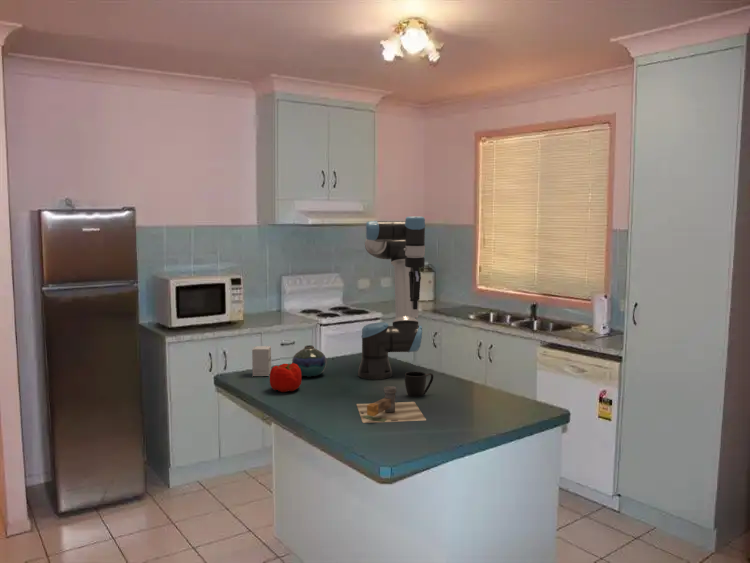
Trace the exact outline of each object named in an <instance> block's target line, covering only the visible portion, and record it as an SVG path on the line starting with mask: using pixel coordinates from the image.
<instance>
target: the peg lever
mask: <svg viewBox="0 0 750 563" xmlns="http://www.w3.org/2000/svg"><path fill="white" fill-rule="evenodd" d="M383 393H384V398H381V399H379V400H377V401H374V402H372V403H371V402H370V403H371V404H369V403H368V404H369V405H367V415H370V416H375V415H377V414H378V413H380V412H382V411H384V410H385V412H390V413H391V412H395V403H396V393H397V387H396V386H392V385H391V386H384V388H383Z"/></svg>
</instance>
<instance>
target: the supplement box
mask: <svg viewBox="0 0 750 563" xmlns="http://www.w3.org/2000/svg"><path fill="white" fill-rule="evenodd" d="M251 351H252V352H251V353H252V354H251V355H252V356H251V358H252V359H251V360H252V377H253V376H269V377H270V375H269V374H270V372H271V369H272V346H270V345H269V346H268V345H258V346H256V345H255V346H254V347H253V348H252V349H251Z"/></svg>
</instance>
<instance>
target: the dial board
mask: <svg viewBox="0 0 750 563" xmlns="http://www.w3.org/2000/svg"><path fill="white" fill-rule="evenodd" d="M369 404H371V402H370V403H356V407H357V410H358V413H359V416H360V419H361V422H362V423H363V424H373V423H375V424H376V423H396V422H397V423H399V422H416V421H417V422H420V421H424V422H425V421H427V418H426V417H425V415H424V414H423V413H422V411H421V410H420V408H419V406H418V405H417V404H416V402H415V401H402V402H400V401H399V402H398V401H397V402H396V401H395V412H391V413H390V412H385V410H384V411H382V412H380V413H378V414H377V415H375V416H370V415H367V405H369Z"/></svg>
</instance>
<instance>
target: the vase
mask: <svg viewBox="0 0 750 563" xmlns="http://www.w3.org/2000/svg"><path fill="white" fill-rule="evenodd" d="M292 363H294V364H297V365H298V367H299V368H300V369H301V377H303V376H307V377H306V378H312V377H311V376H314V377H318V376H320V375H321V374H322V373H324V371H325V370H326V367H327V363H328V362H327V356H326V355H325V354H324V353H323V351H320V350H319V349H316V348H315V346H314V345H311V344H310V345H304V348H302V349H301V350H299V351H297V352H296V353H295V354H294V355H293V357H292V360H291V364H292Z"/></svg>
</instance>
